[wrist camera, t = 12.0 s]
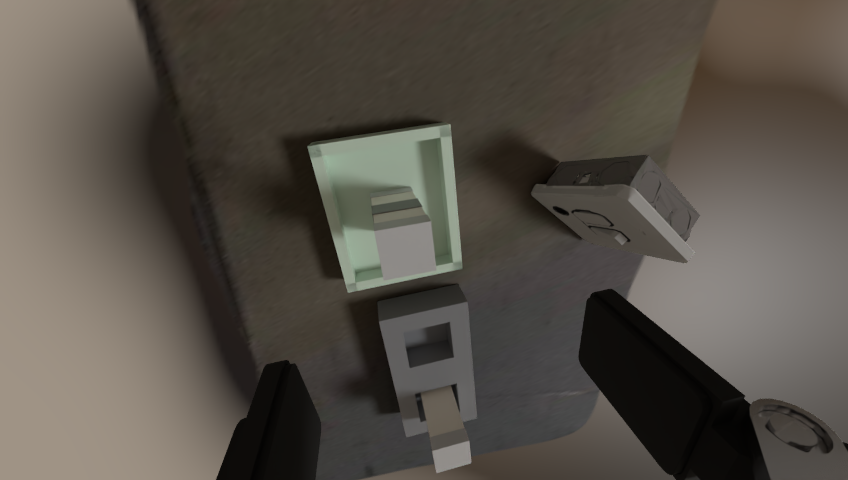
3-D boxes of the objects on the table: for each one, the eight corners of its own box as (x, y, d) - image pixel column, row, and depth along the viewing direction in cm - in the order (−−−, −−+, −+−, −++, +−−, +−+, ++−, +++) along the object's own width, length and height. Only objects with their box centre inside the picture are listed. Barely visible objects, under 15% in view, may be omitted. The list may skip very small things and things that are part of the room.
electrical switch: (524, 191, 28) (605, 218, 20) (561, 142, 27) (661, 148, 19) (585, 242, 32) (675, 284, 23) (619, 200, 31) (724, 227, 22)
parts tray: (311, 142, 23) (307, 146, 21) (442, 122, 24) (450, 124, 22) (348, 279, 28) (348, 292, 26) (455, 257, 29) (462, 268, 27)
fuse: (416, 376, 34) (432, 450, 27) (446, 369, 34) (469, 440, 27) (420, 397, 35) (436, 473, 28) (449, 390, 36) (471, 463, 29)
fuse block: (377, 301, 30) (378, 321, 27) (458, 283, 31) (467, 301, 28) (403, 412, 37) (406, 437, 34) (468, 395, 37) (477, 418, 35)
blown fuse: (369, 193, 25) (373, 231, 18) (410, 186, 25) (431, 221, 18) (376, 231, 26) (383, 280, 19) (415, 224, 27) (436, 270, 19)
